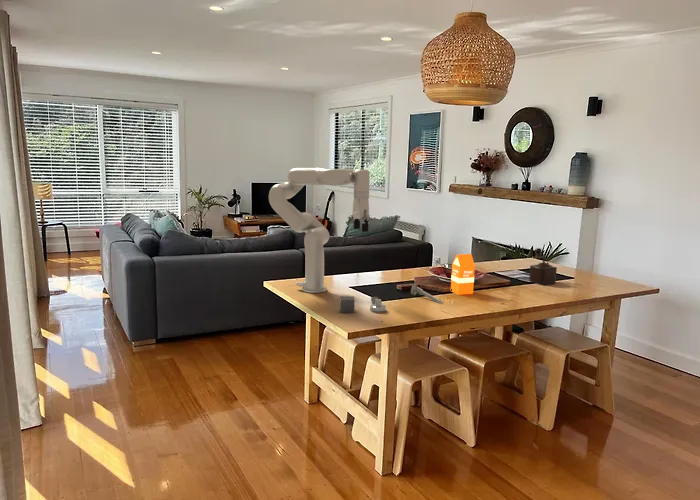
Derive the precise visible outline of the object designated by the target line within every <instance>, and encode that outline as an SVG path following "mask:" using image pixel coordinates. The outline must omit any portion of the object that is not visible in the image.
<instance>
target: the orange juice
mask: <svg viewBox="0 0 700 500" xmlns="http://www.w3.org/2000/svg"><path fill="white" fill-rule="evenodd" d="M474 262H475V261H474V259H473V255H472V253H462V254H460V253H459V254H456V256H455V257H454V260H453V262H452V263H451V275H450V276H451V277H450V281H451V283H450V290H451V289H452V291H451V292H452V293H453V294H456V295H457V296H460V295H472V294H474V283H475V270H476V269H475V268H476V265H475V263H474Z"/></svg>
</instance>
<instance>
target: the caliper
mask: <svg viewBox="0 0 700 500" xmlns="http://www.w3.org/2000/svg"><path fill="white" fill-rule="evenodd" d="M417 285H418V284H416V283H413V285H411V287H410V288H411V289H410V294H411V295H412V296H417V294H418V295H420V296H422V295H423V296H425V297H426V298H428V299H431V300H432V301H433V302H435V303H438V304H443V302H442V300H440V299H438V297H435V296H433V295H432V294H430V293H428V292H426V291H424V290H423V289H422V288H421V287H419V286H417Z"/></svg>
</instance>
